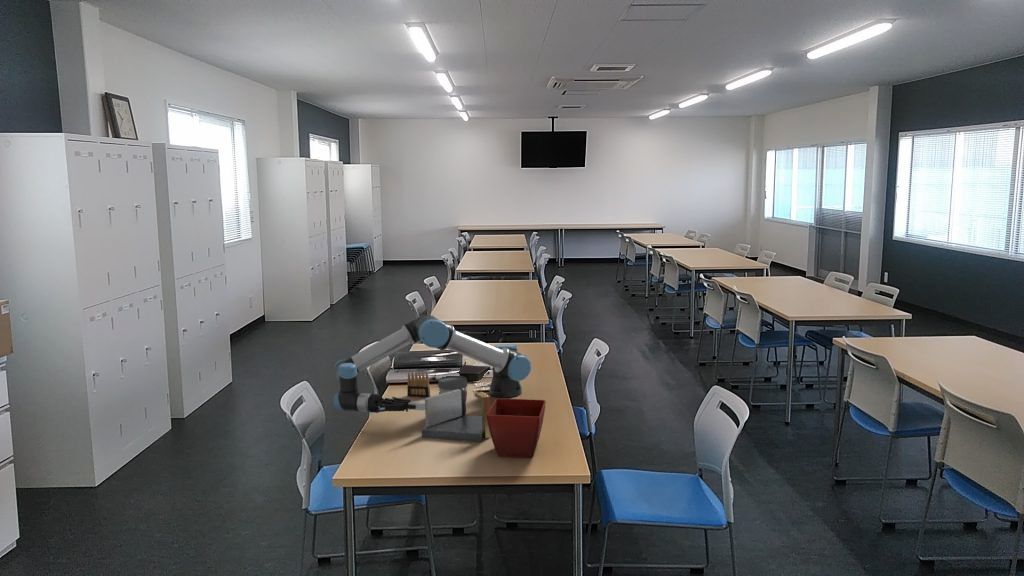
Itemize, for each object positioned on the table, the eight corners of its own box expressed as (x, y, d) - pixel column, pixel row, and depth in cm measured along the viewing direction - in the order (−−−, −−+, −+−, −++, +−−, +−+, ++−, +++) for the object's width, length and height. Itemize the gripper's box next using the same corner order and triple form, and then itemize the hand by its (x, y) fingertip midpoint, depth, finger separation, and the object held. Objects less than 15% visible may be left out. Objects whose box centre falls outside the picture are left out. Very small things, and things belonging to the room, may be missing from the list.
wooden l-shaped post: (482, 431, 275) (481, 391, 273) (491, 437, 269) (490, 396, 266) (476, 433, 273) (474, 392, 271) (484, 438, 267) (483, 397, 265)
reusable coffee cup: (474, 412, 299) (473, 378, 297) (452, 420, 290) (451, 385, 288) (454, 406, 307) (453, 373, 305) (433, 413, 298) (431, 380, 296)
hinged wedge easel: (463, 412, 288) (462, 387, 286) (467, 414, 286) (466, 388, 284) (424, 425, 274) (423, 398, 273) (429, 426, 272) (428, 399, 271)
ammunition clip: (430, 396, 324) (429, 371, 322) (429, 397, 322) (427, 372, 320) (408, 395, 326) (407, 370, 324) (407, 396, 324) (406, 371, 322)
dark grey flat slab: (440, 420, 290) (440, 413, 289) (495, 424, 283) (495, 417, 283) (422, 437, 271) (421, 429, 270) (480, 441, 264) (480, 434, 264)
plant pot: (540, 462, 243) (539, 416, 241) (487, 460, 246) (485, 414, 244) (546, 442, 262) (546, 399, 260) (496, 440, 265) (495, 398, 263)
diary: (446, 371, 369) (446, 362, 368) (490, 374, 362) (490, 365, 361) (432, 380, 351) (431, 371, 351) (478, 384, 344) (478, 374, 343)
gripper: (378, 406, 291) (430, 410, 285) (363, 416, 279) (418, 421, 272) (377, 389, 290) (430, 392, 284) (362, 398, 278) (417, 402, 271)
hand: (424, 406), depth 278 cm, fingers closed
